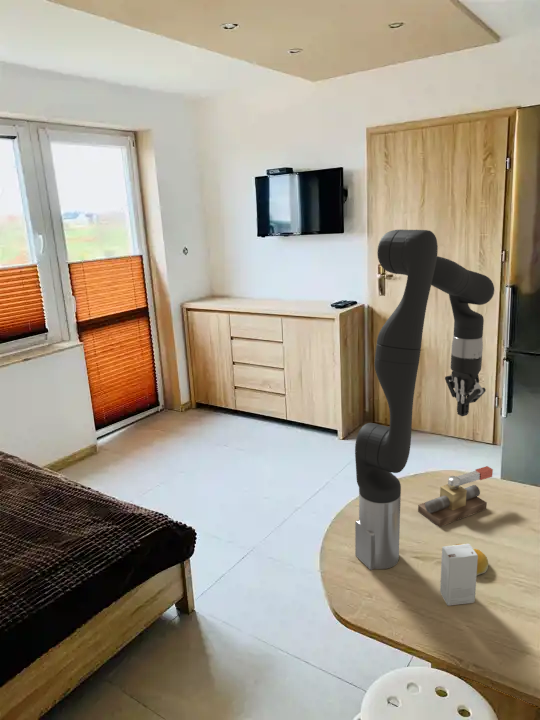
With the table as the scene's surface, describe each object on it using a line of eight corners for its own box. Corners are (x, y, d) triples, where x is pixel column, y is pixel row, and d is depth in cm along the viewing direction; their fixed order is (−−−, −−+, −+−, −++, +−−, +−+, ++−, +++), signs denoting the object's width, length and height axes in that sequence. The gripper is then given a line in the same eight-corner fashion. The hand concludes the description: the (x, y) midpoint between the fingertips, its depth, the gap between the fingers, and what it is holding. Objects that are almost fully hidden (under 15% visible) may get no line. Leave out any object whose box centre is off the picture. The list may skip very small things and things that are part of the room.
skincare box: (466, 589, 120) (469, 541, 117) (475, 604, 116) (479, 555, 112) (438, 592, 120) (441, 544, 116) (446, 607, 116) (449, 558, 112)
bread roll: (481, 582, 123) (482, 567, 121) (441, 567, 128) (442, 552, 127) (493, 562, 129) (494, 547, 127) (454, 548, 134) (455, 533, 133)
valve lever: (452, 490, 144) (453, 482, 144) (445, 485, 147) (446, 477, 146) (493, 477, 149) (493, 470, 149) (485, 473, 152) (486, 465, 151)
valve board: (439, 527, 142) (440, 502, 140) (418, 511, 149) (418, 488, 146) (486, 509, 148) (488, 485, 146) (464, 494, 155) (465, 472, 153)
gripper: (437, 348, 149) (434, 409, 154) (474, 362, 137) (469, 427, 142) (459, 344, 152) (456, 404, 157) (497, 357, 140) (492, 421, 145)
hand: (462, 414), depth 150 cm, fingers closed
